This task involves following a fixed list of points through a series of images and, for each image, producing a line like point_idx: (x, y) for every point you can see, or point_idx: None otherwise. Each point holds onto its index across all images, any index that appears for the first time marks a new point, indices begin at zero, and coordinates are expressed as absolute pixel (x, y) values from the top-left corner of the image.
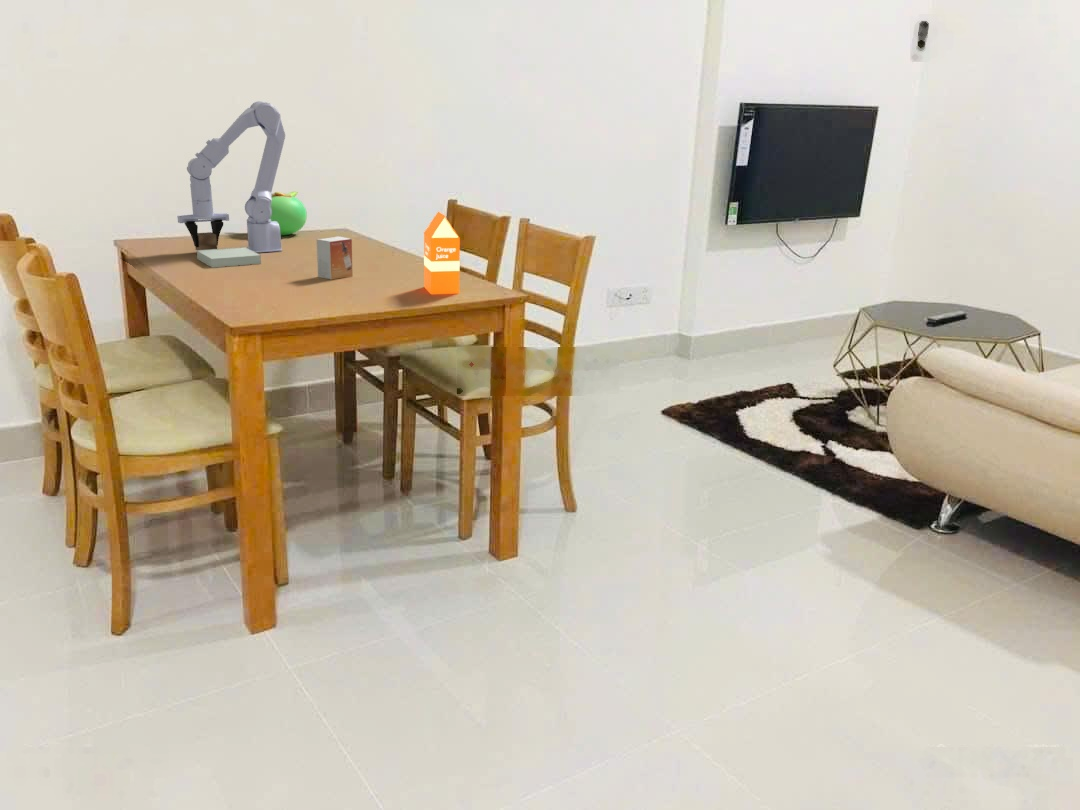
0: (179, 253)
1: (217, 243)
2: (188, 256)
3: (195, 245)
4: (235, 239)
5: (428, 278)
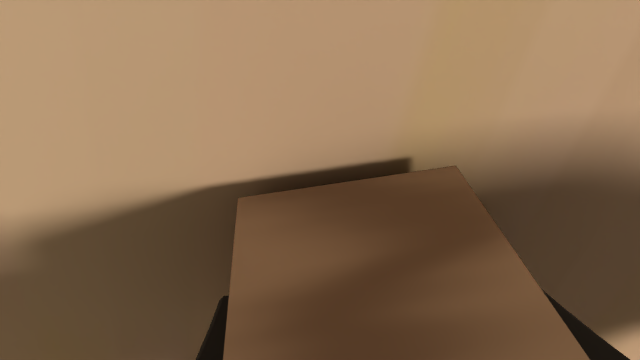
0: (37, 204)
1: None
2: (157, 344)
3: None
4: None
5: None
